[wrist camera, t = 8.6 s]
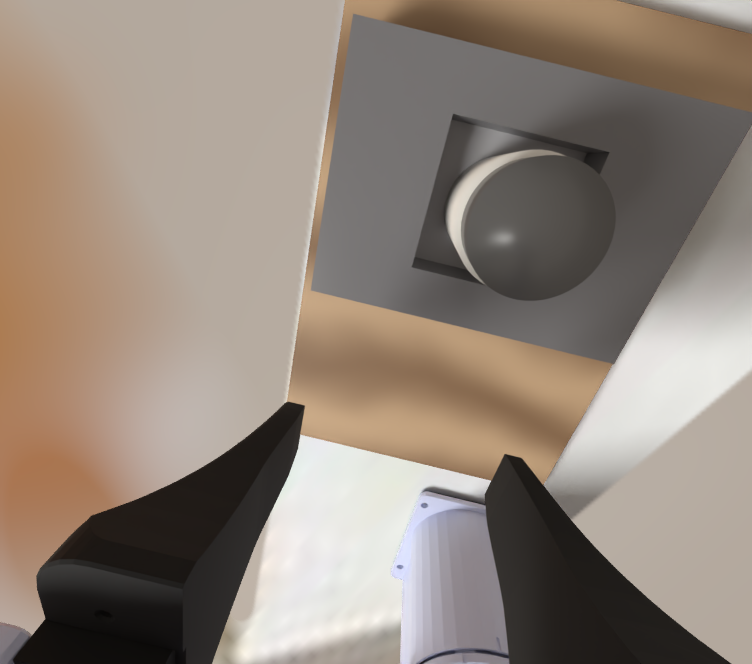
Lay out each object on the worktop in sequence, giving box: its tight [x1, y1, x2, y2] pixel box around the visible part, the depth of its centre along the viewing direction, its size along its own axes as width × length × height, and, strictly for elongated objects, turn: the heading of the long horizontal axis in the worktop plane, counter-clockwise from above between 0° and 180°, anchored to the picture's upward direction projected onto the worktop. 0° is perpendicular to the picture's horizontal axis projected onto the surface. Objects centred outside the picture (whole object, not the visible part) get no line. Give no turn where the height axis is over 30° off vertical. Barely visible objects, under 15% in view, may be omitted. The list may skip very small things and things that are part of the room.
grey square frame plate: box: [311, 14, 752, 364], centre depth 16 cm, size 14×10×3 cm
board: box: [287, 0, 752, 485], centre depth 20 cm, size 24×17×1 cm
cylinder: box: [444, 150, 616, 301], centre depth 14 cm, size 4×4×6 cm
